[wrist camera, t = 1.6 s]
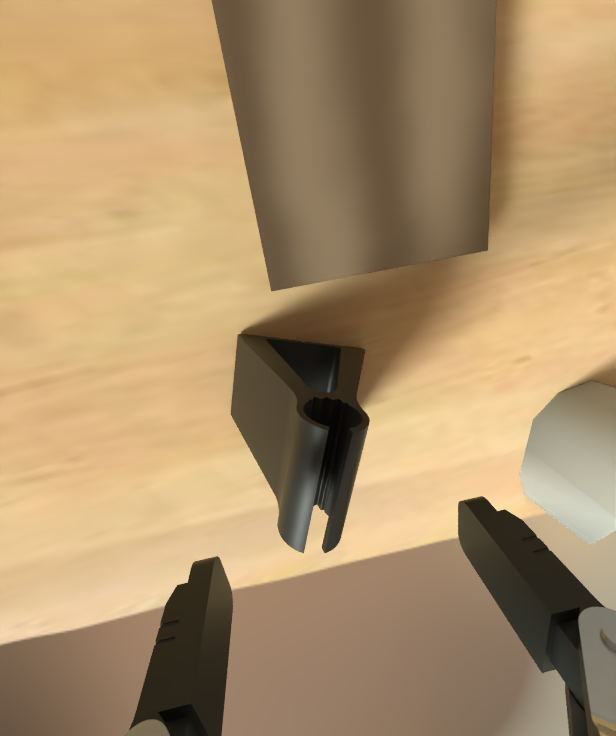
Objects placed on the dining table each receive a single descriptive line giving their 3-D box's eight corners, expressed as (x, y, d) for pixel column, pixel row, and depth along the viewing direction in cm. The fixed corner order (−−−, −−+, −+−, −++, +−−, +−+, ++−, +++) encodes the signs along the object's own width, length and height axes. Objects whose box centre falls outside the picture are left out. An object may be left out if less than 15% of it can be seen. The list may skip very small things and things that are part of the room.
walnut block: (270, 285, 21) (271, 291, 19) (217, 26, 17) (208, -17, 14) (459, 249, 22) (488, 250, 19) (460, -7, 17) (498, -55, 15)
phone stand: (364, 348, 24) (452, 439, 13) (347, 421, 26) (411, 554, 15) (238, 332, 22) (214, 420, 11) (230, 411, 24) (203, 552, 13)
